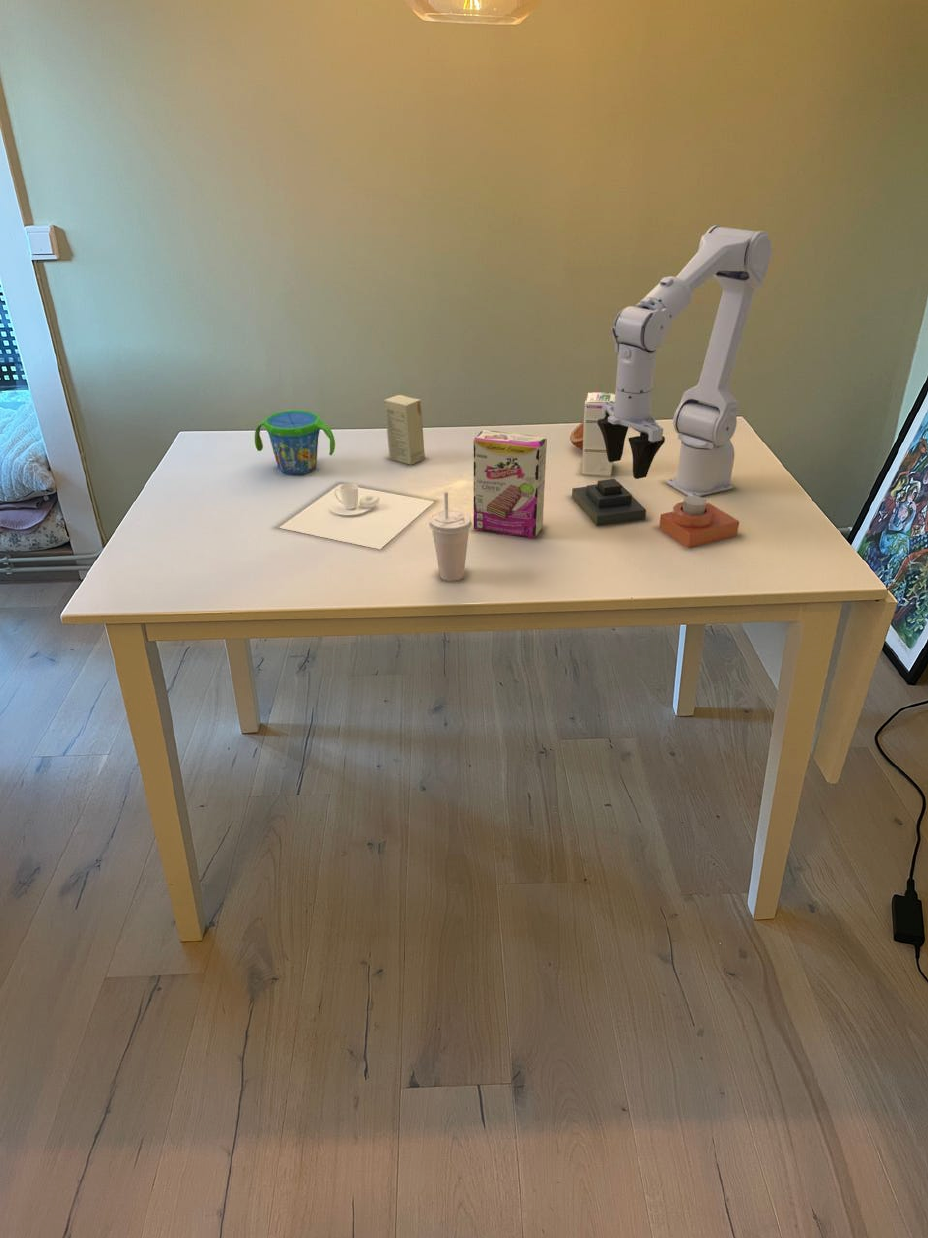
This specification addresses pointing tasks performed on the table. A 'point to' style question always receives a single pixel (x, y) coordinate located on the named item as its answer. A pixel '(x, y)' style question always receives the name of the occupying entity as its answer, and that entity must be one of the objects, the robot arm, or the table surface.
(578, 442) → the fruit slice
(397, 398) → the cosmetic box
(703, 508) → the gray push button
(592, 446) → the syrup box
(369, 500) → the teacup and saucer
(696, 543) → the orange knob plate
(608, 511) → the dark gray socket plate
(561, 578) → the table surface
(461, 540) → the smoothie
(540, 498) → the candy bar box
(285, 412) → the snack cup
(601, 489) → the dark top block
